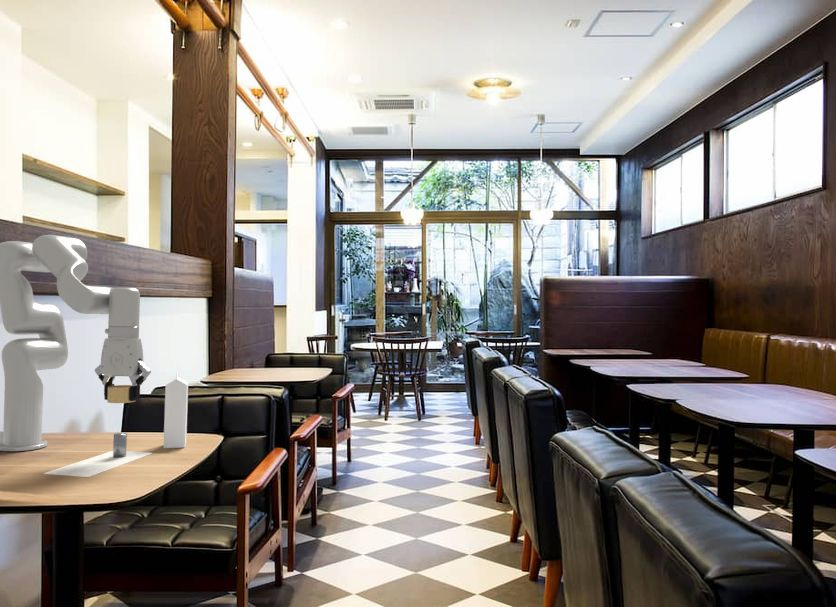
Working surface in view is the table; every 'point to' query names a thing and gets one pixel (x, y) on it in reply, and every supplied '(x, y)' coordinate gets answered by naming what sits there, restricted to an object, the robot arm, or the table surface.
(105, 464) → the board
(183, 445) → the milk
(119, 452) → the cylinder
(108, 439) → the table surface
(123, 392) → the ring
